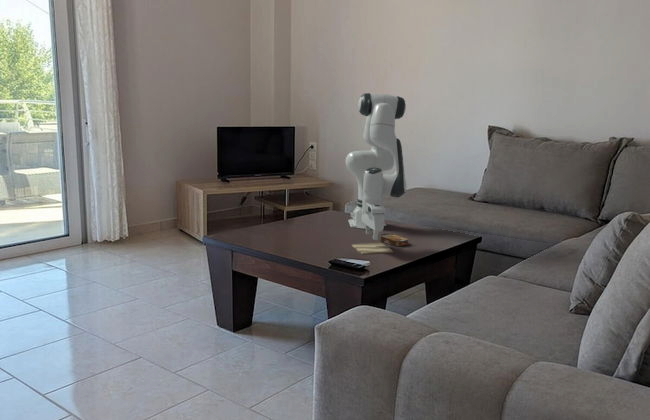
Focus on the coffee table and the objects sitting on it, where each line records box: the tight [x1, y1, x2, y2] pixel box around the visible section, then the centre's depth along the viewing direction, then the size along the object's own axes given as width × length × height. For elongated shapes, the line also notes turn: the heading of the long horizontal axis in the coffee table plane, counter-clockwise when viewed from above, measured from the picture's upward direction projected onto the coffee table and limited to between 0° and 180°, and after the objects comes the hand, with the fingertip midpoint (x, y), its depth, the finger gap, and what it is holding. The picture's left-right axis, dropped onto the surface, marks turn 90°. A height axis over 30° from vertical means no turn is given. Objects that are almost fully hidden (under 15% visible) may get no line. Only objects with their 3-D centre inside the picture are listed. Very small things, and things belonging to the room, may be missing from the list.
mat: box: [351, 242, 394, 255], centre depth 258 cm, size 15×14×1 cm
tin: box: [379, 233, 409, 247], centre depth 269 cm, size 15×3×8 cm
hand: (371, 237), depth 257 cm, fingers open, 8 cm apart
